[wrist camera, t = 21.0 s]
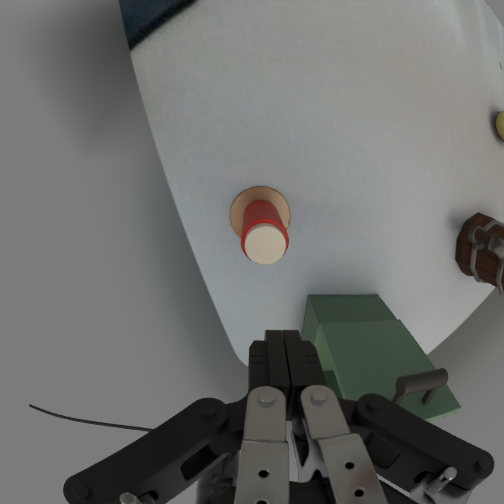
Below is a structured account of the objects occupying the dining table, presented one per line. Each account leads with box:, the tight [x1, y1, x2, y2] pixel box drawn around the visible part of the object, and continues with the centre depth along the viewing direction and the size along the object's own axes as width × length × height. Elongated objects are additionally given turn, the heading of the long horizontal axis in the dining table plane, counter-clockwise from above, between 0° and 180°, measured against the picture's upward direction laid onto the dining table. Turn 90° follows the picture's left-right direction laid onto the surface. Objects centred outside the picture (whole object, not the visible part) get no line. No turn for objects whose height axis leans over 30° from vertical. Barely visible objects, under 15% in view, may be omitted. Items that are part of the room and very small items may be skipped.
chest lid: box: [319, 320, 461, 422], centre depth 25 cm, size 17×12×5 cm
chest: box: [301, 295, 397, 398], centre depth 41 cm, size 17×12×8 cm
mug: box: [456, 213, 504, 295], centre depth 32 cm, size 16×12×15 cm
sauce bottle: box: [241, 200, 289, 265], centre depth 31 cm, size 5×5×12 cm
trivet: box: [230, 186, 290, 238], centre depth 37 cm, size 8×8×1 cm
